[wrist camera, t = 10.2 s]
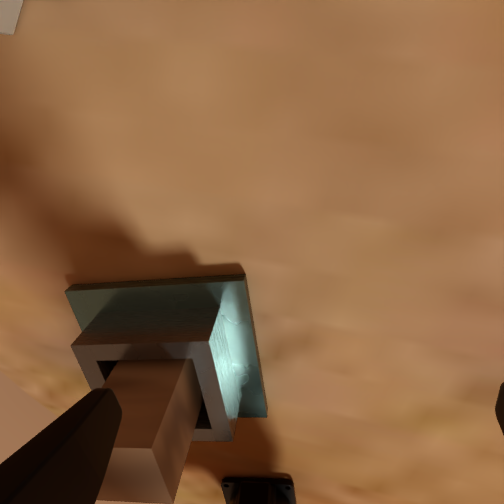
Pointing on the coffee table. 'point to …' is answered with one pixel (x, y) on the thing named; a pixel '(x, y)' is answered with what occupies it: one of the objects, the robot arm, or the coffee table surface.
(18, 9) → the small box
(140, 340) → the socket
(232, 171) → the coffee table surface
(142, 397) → the peg
